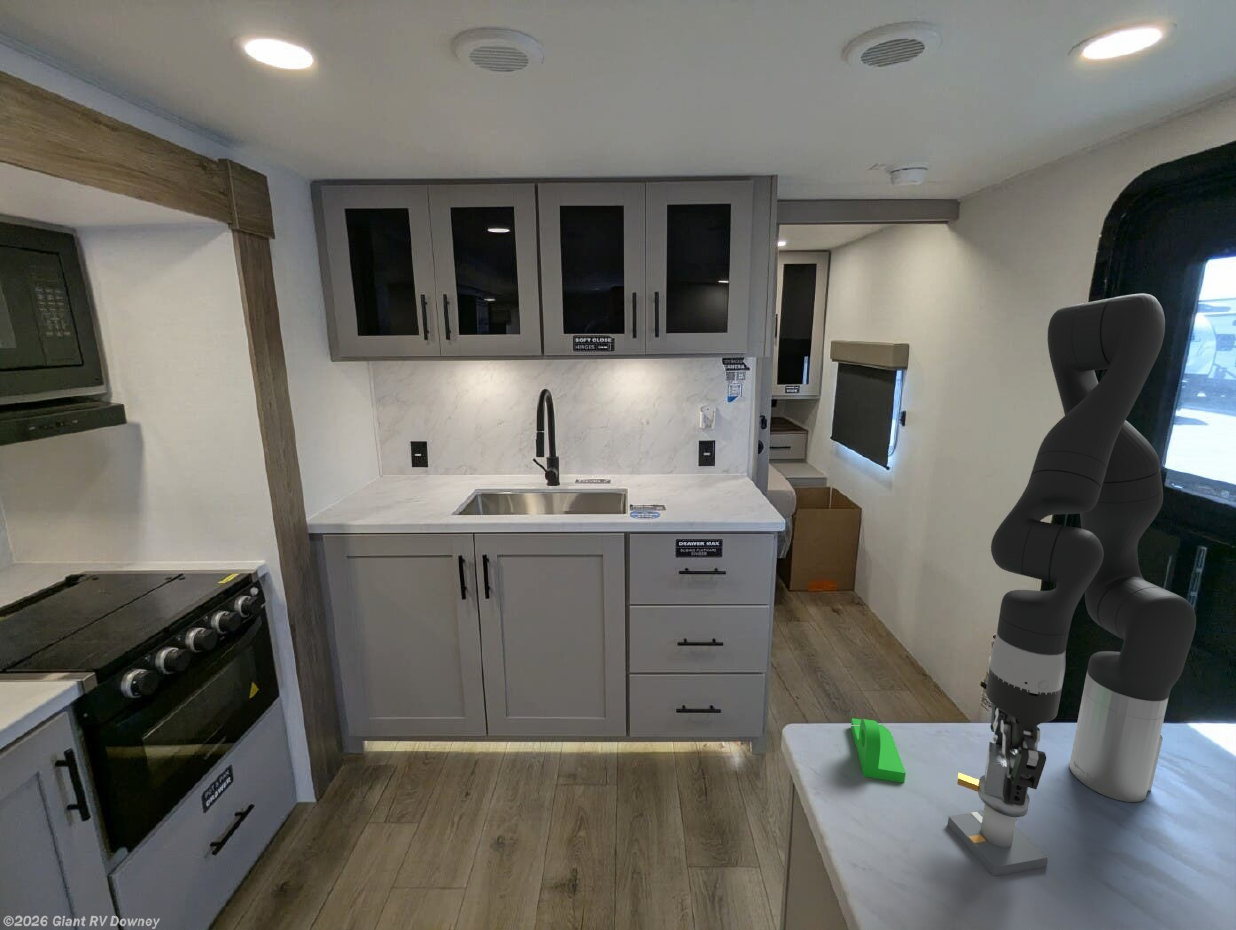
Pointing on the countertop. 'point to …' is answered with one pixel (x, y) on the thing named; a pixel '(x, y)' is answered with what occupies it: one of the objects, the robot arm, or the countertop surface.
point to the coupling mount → (997, 841)
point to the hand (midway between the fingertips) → (1007, 785)
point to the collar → (994, 784)
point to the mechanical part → (877, 751)
